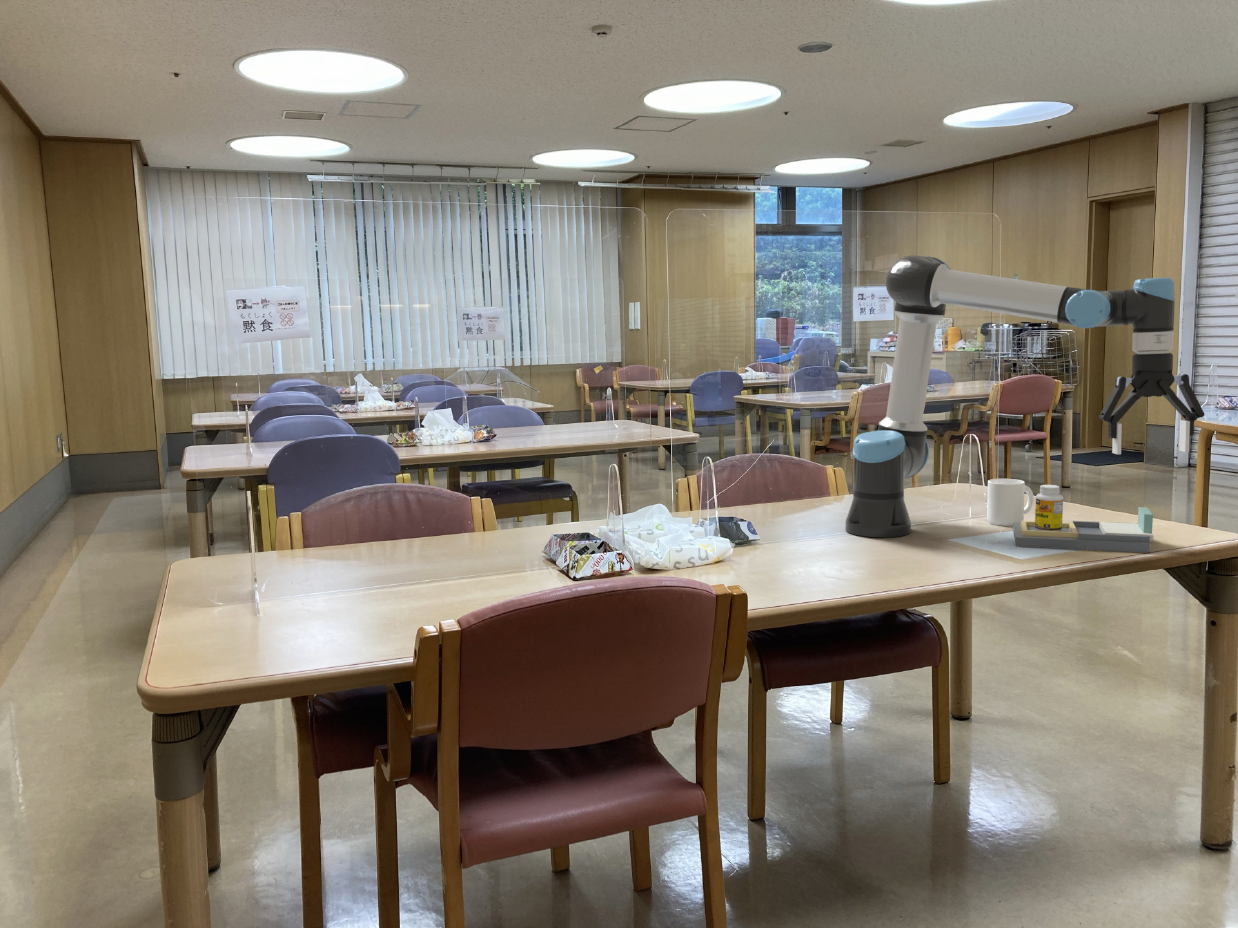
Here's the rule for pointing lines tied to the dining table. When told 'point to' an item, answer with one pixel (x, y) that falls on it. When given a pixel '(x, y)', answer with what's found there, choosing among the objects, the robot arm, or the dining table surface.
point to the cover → (1131, 525)
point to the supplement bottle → (1049, 509)
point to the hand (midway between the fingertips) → (1150, 452)
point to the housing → (1078, 538)
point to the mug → (1007, 501)
